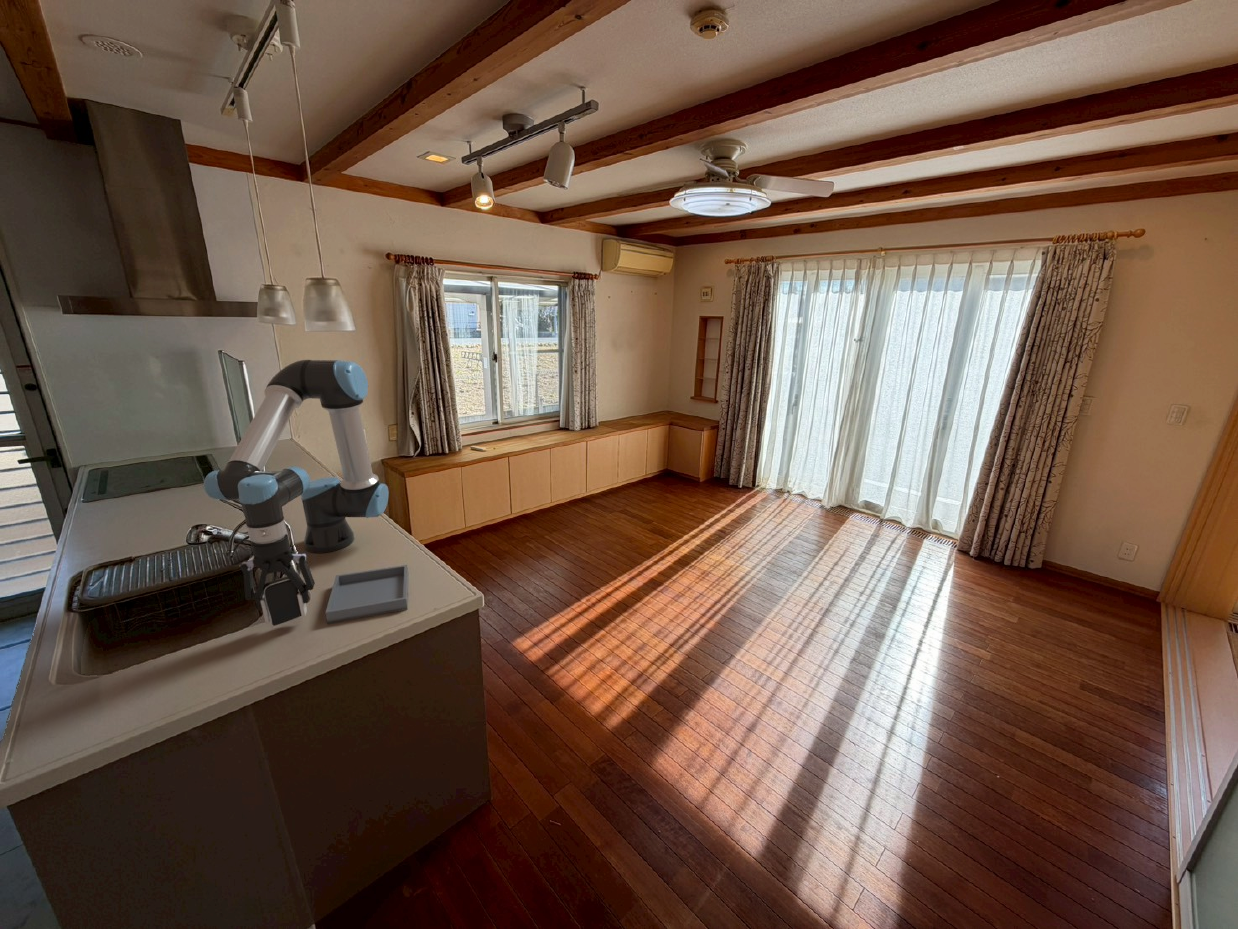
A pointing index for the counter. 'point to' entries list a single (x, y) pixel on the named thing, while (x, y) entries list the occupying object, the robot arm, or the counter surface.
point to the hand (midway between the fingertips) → (286, 616)
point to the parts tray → (368, 594)
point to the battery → (282, 600)
